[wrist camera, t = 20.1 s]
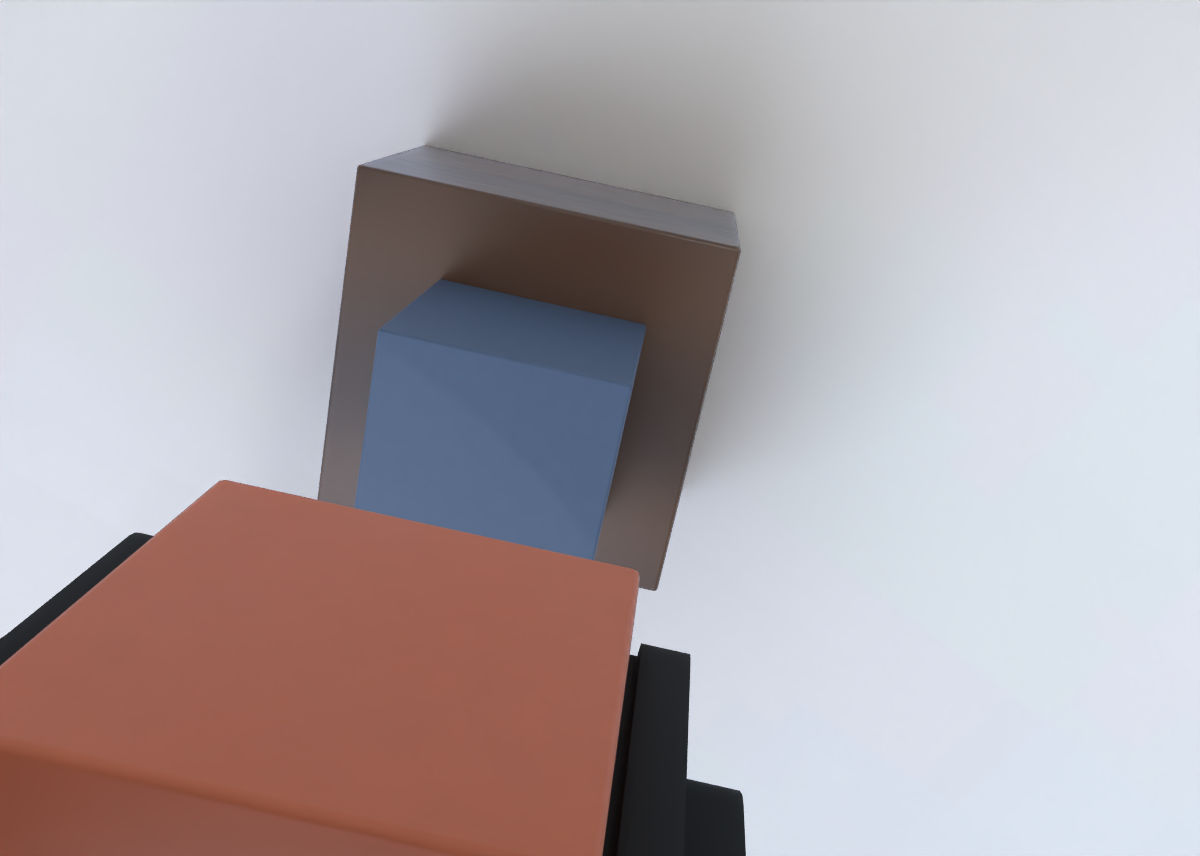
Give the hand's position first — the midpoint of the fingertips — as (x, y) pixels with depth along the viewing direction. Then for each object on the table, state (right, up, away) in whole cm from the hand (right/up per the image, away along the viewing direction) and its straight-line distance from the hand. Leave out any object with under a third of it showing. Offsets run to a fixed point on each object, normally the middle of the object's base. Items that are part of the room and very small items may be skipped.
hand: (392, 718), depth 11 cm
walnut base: (+1, +6, +20) cm, 21 cm away
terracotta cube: (0, 0, 0) cm, 0 cm away
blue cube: (0, +4, +14) cm, 15 cm away
